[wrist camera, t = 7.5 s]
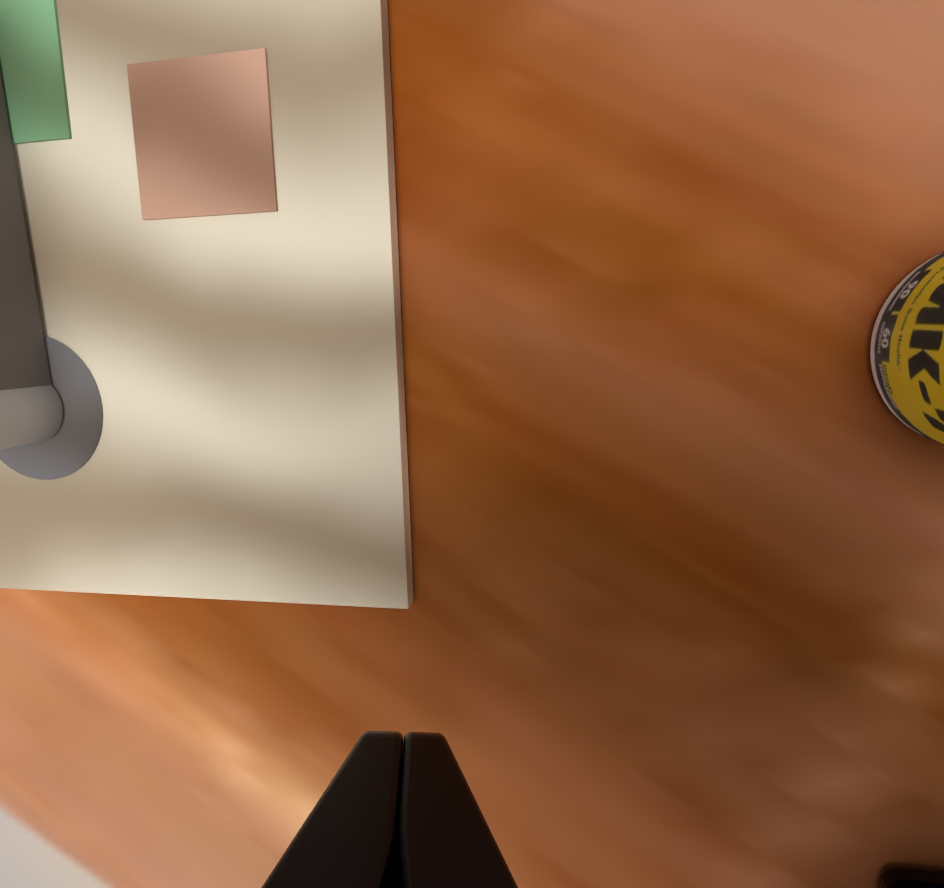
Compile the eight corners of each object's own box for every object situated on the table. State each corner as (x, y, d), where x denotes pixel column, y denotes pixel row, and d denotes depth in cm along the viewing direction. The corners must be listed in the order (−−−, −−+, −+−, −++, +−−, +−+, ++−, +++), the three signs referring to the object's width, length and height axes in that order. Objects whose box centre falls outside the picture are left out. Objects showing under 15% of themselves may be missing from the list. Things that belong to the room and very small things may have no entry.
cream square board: (413, 600, 20) (407, 610, 20) (-94, 575, 24) (-115, 583, 23) (383, -84, 17) (374, -101, 17) (-189, 3, 21) (-217, -8, 20)
